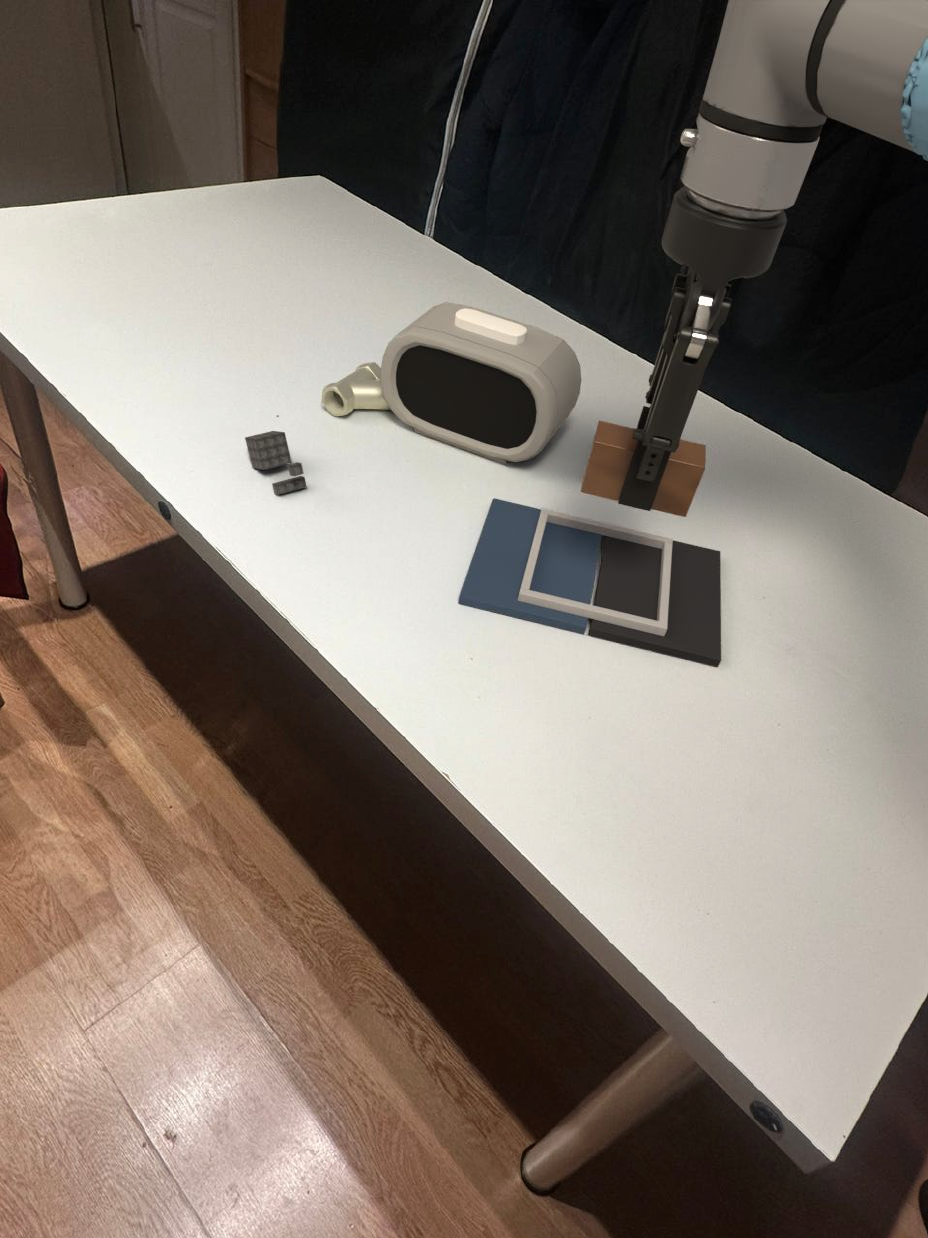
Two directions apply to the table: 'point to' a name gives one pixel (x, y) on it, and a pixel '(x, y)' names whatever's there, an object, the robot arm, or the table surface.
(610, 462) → the brown rectangular block
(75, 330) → the table surface
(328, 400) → the pipe fitting
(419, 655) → the table surface
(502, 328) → the alarm clock
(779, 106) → the robot arm
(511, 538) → the back pads
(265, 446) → the building blocks
